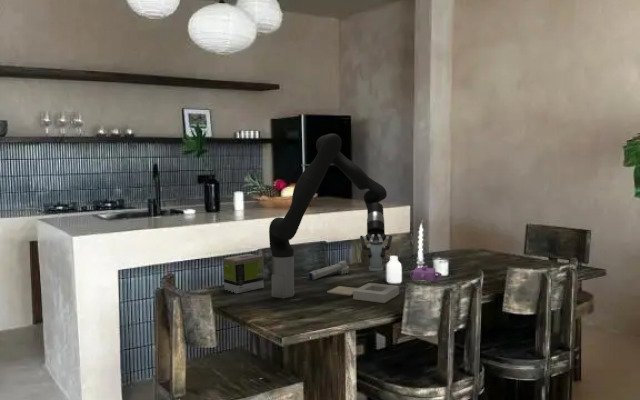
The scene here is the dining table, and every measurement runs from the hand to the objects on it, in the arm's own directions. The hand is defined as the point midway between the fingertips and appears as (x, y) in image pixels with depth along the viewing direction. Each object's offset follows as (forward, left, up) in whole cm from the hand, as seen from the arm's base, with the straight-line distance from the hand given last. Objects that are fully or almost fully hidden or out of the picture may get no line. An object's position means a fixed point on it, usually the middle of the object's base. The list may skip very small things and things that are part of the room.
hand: (376, 257), depth 251 cm
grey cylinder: (+28, +37, -18) cm, 50 cm away
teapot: (+24, -13, -18) cm, 32 cm away
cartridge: (+2, +1, -6) cm, 6 cm away
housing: (+2, +1, -17) cm, 17 cm away
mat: (+4, +17, -17) cm, 24 cm away
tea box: (-12, +59, -17) cm, 62 cm away
